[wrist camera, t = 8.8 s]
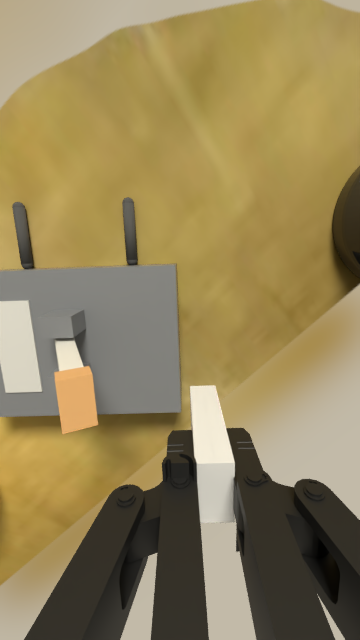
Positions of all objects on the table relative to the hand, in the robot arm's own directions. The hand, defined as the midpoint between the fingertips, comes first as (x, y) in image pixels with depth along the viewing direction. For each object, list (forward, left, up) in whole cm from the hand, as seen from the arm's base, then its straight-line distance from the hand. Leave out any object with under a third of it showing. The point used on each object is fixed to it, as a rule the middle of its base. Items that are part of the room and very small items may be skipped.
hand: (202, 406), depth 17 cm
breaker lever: (+13, 0, -11) cm, 17 cm away
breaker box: (+13, 0, -18) cm, 22 cm away
